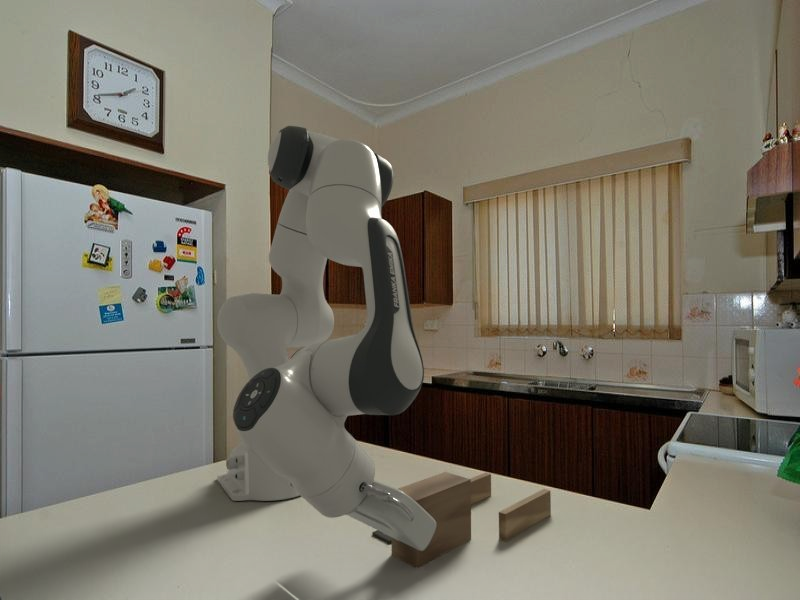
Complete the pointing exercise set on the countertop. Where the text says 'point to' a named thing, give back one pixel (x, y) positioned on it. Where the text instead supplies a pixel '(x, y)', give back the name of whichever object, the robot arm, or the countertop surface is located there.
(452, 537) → the walnut block
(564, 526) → the countertop surface
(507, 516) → the channel
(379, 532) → the mat
